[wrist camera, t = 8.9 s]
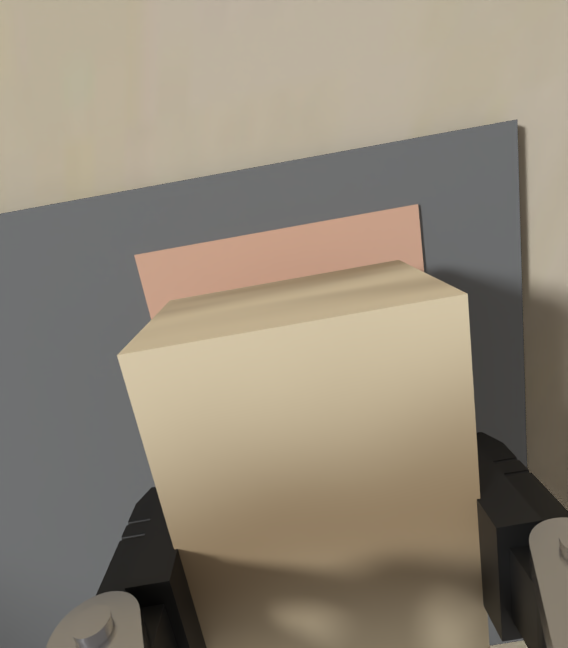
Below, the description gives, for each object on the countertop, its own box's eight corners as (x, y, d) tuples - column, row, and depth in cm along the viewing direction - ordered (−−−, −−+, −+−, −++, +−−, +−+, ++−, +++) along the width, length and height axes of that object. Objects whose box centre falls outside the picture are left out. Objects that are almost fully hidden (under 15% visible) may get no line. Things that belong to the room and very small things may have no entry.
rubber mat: (-160, 737, 16) (-174, 754, 15) (-438, 295, 11) (-470, 299, 11) (525, 627, 15) (533, 641, 15) (508, 122, 11) (519, 118, 10)
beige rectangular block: (169, 300, 10) (116, 355, 6) (398, 259, 10) (467, 293, 6) (250, 619, 12) (242, 780, 9) (433, 589, 12) (495, 740, 9)
